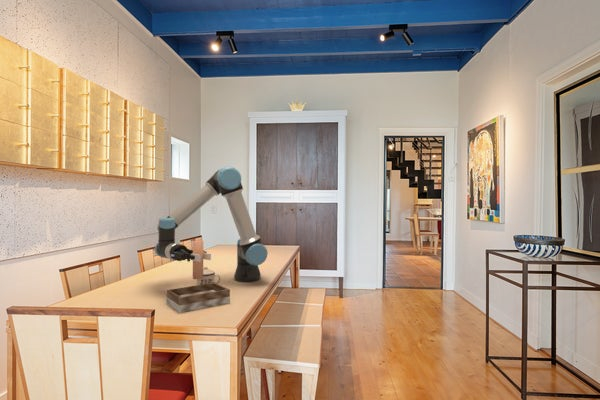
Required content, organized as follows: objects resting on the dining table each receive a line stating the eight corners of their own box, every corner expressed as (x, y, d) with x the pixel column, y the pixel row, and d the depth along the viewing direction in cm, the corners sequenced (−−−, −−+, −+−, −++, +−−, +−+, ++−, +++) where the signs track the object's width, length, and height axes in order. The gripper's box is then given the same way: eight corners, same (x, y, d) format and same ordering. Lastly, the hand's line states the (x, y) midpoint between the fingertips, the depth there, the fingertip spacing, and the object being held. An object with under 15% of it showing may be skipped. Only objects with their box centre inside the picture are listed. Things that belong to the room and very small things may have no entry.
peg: (200, 276, 155) (201, 240, 155) (204, 278, 151) (205, 241, 151) (191, 277, 152) (191, 241, 152) (194, 279, 148) (195, 242, 149)
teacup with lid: (197, 293, 168) (197, 269, 168) (194, 289, 176) (194, 266, 176) (222, 290, 173) (222, 267, 173) (218, 286, 181) (218, 264, 181)
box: (214, 295, 165) (214, 282, 165) (229, 303, 152) (229, 289, 152) (166, 303, 151) (166, 289, 151) (179, 313, 138) (179, 298, 139)
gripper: (193, 257, 170) (222, 263, 154) (158, 262, 157) (186, 269, 141) (193, 242, 170) (222, 246, 155) (159, 245, 157) (186, 250, 142)
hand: (205, 257), depth 148 cm, fingers closed on peg, 4 cm apart
